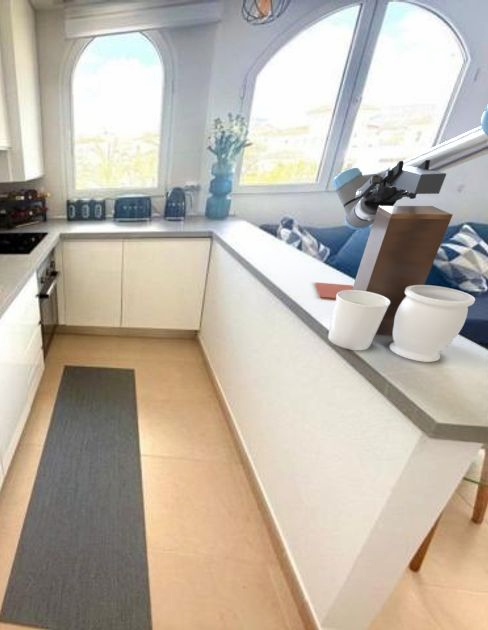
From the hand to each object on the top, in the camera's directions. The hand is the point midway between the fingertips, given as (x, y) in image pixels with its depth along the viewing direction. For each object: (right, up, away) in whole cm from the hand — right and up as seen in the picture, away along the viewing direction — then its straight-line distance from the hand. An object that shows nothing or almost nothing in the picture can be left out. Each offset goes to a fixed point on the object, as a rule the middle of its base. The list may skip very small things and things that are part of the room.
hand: (413, 166), depth 82 cm
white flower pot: (-13, -43, +4) cm, 45 cm away
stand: (-1, -38, +10) cm, 40 cm away
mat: (+5, -28, +30) cm, 41 cm away
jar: (-3, -45, -2) cm, 45 cm away
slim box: (-1, -5, 0) cm, 5 cm away
